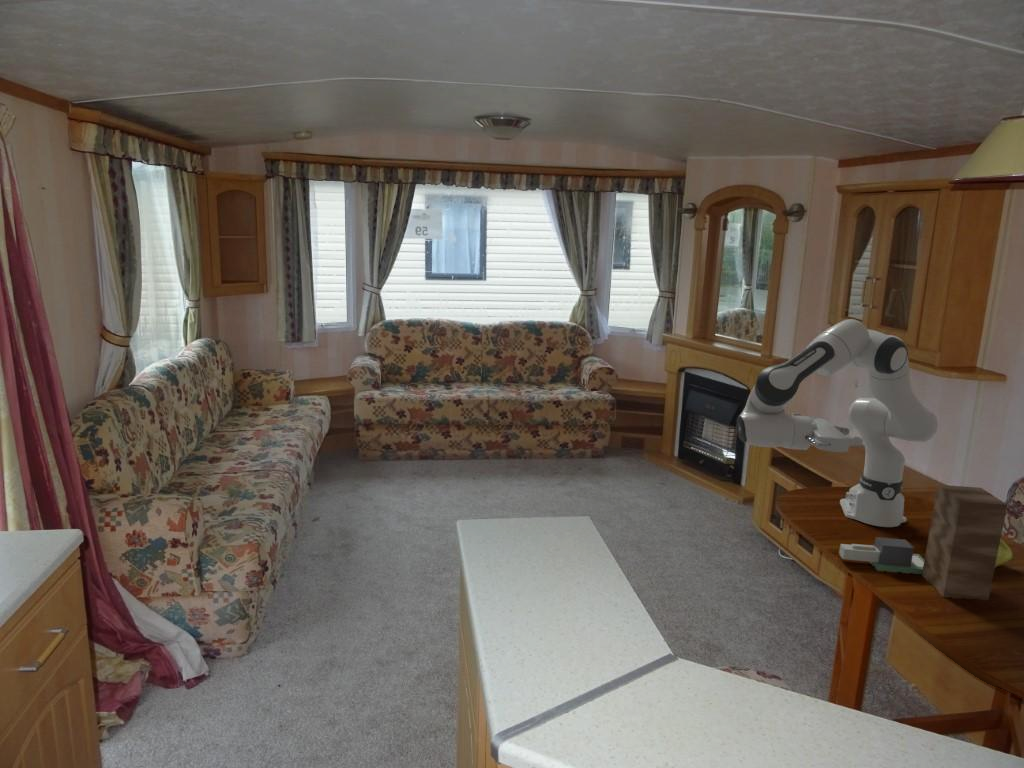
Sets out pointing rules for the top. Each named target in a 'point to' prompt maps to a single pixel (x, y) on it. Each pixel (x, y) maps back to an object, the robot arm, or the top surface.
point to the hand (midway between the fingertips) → (854, 436)
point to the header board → (915, 566)
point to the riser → (963, 541)
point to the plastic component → (1003, 554)
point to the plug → (880, 552)
